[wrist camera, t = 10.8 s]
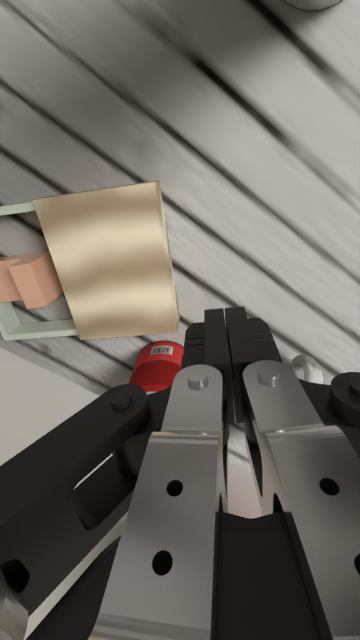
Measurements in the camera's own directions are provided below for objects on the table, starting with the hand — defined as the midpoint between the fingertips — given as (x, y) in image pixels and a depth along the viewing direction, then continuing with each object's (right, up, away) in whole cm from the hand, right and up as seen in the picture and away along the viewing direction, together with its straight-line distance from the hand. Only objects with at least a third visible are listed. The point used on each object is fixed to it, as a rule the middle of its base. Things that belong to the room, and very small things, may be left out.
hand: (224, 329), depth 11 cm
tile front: (-17, +5, +22) cm, 28 cm away
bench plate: (-9, +7, +23) cm, 26 cm away
